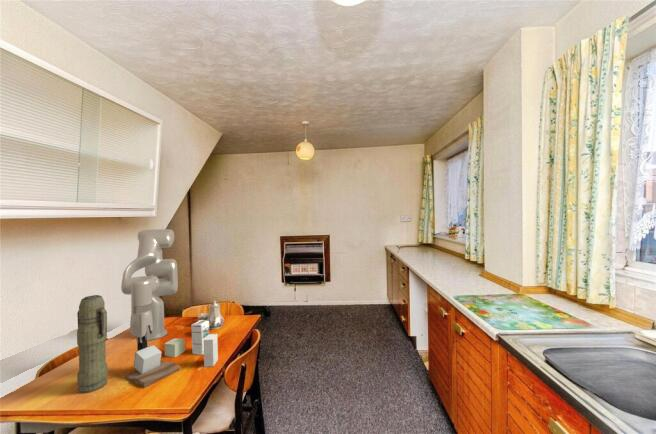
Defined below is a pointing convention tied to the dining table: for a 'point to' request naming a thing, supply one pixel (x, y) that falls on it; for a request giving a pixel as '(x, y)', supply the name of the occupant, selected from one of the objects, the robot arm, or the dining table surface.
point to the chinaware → (213, 316)
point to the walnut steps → (153, 374)
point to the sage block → (174, 347)
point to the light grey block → (147, 359)
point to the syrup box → (199, 336)
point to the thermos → (92, 344)
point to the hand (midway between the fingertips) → (142, 350)
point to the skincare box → (210, 350)
